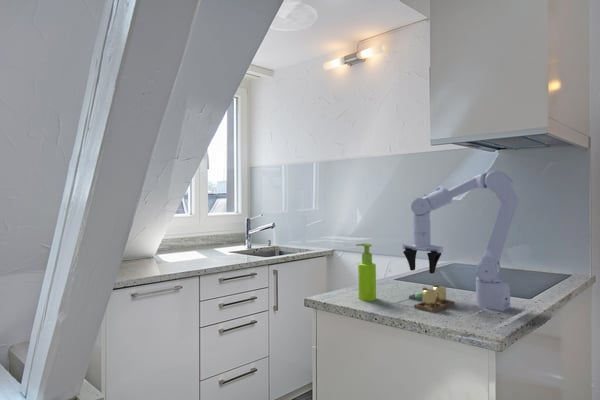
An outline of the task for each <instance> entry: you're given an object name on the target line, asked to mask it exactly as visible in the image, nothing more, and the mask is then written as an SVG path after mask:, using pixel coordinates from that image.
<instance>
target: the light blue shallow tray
mask: <svg viewBox="0 0 600 400" xmlns="http://www.w3.org/2000/svg"><path fill="white" fill-rule="evenodd" d="M405 301H414V302H417V303H421V301H417V300H412V299H409V298H405V299H402V300H398V301H396V302H393V304H395V305H399V306H403V307H408V308H414V305H407V304H401V303H402V302H405Z"/></svg>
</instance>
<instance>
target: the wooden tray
mask: <svg viewBox="0 0 600 400" xmlns="http://www.w3.org/2000/svg"><path fill="white" fill-rule="evenodd" d="M413 306H414V307H413V309H415V310H421V311H422V312H424V311H425V312H428V313H432V314H436V313H437V312H439V311H443V310H445V309H447V308H450V307H453V306H455V301H454V300H450V299H446V304H438V303H436V307H435V308H429V307H425V306H423V302H417V303H416V304H414V305H413Z"/></svg>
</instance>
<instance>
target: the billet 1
mask: <svg viewBox="0 0 600 400" xmlns="http://www.w3.org/2000/svg"><path fill="white" fill-rule="evenodd" d="M421 292H422V293H423V306H425V307H429V308H435V307H436V290H434V289H433V288H428V287H422V290H421Z"/></svg>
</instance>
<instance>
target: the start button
mask: <svg viewBox="0 0 600 400" xmlns="http://www.w3.org/2000/svg"><path fill="white" fill-rule="evenodd" d="M414 294H415V297H420V298H422V297H423V292H422V291H418V292H417V291H415V292H414Z"/></svg>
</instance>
